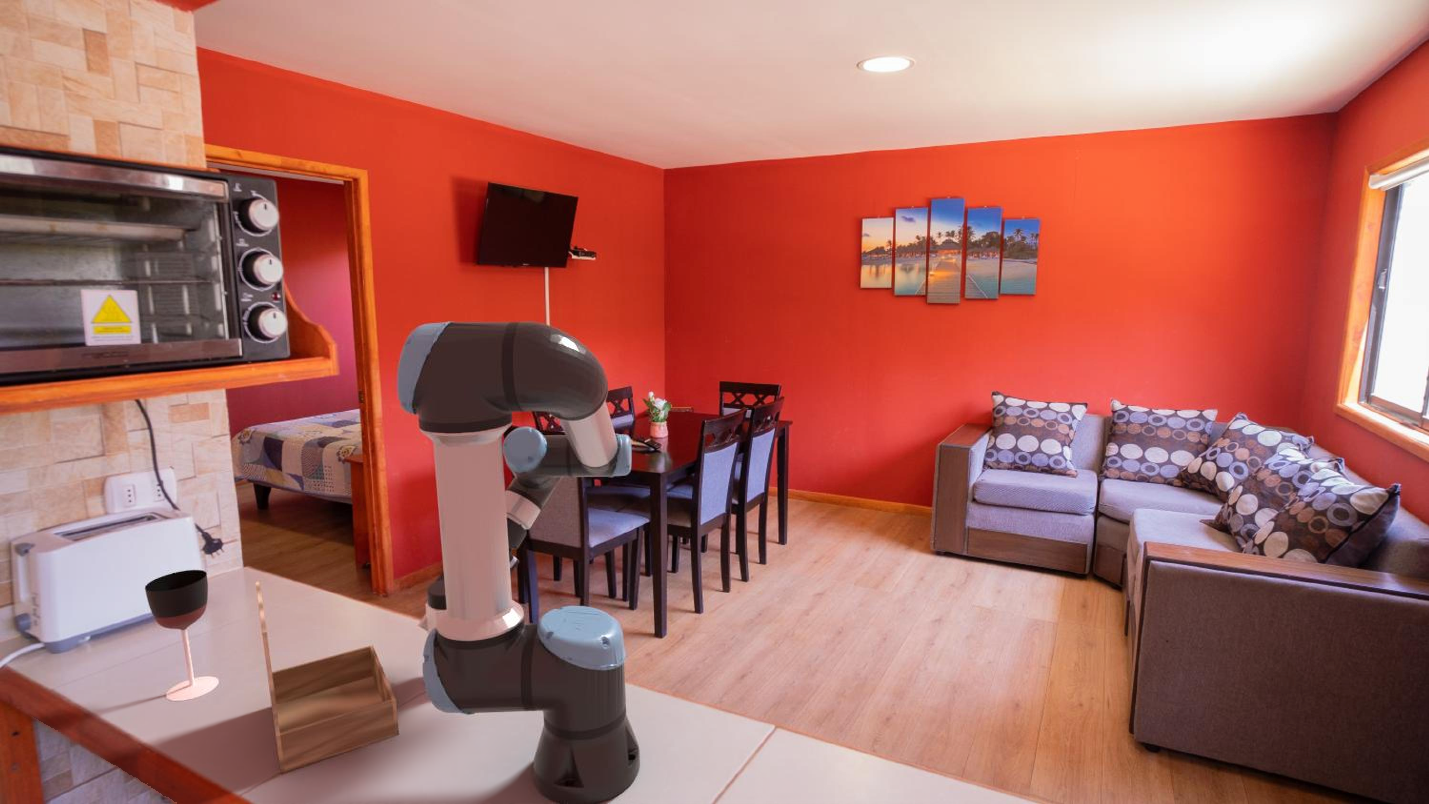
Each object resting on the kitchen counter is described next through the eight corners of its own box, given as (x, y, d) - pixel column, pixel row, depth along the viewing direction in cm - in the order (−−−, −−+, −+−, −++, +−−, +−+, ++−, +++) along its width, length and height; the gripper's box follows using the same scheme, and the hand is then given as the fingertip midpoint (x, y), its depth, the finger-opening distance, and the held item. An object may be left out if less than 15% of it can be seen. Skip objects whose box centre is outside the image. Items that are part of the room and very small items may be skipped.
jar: (490, 650, 129) (485, 586, 127) (445, 667, 124) (439, 600, 122) (467, 633, 136) (462, 571, 134) (423, 649, 130) (417, 585, 128)
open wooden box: (399, 734, 115) (386, 602, 110) (280, 773, 106) (262, 632, 102) (375, 676, 131) (364, 559, 127) (271, 706, 122) (255, 582, 118)
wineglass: (233, 678, 130) (218, 572, 127) (185, 706, 122) (167, 594, 118) (199, 671, 133) (184, 567, 129) (150, 698, 125) (132, 588, 121)
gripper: (558, 542, 132) (487, 662, 122) (490, 520, 145) (420, 627, 135) (533, 522, 127) (456, 645, 117) (464, 501, 140) (390, 611, 130)
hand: (437, 636), depth 126 cm, fingers closed on jar, 8 cm apart
